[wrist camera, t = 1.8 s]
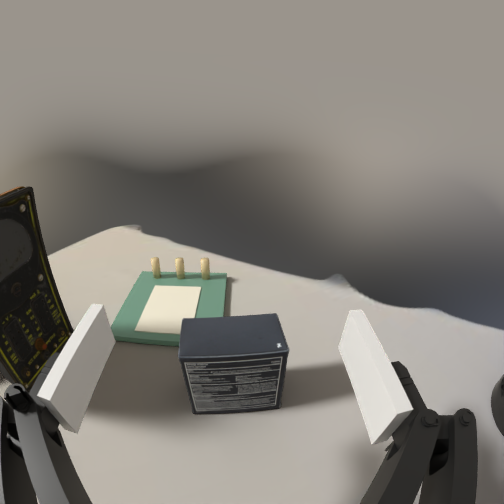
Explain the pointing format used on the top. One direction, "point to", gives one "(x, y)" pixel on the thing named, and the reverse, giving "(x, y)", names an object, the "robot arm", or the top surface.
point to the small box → (233, 363)
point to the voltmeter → (27, 293)
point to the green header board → (168, 303)
